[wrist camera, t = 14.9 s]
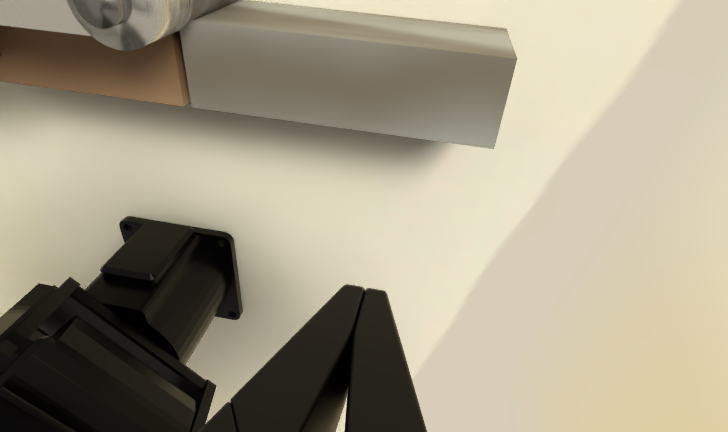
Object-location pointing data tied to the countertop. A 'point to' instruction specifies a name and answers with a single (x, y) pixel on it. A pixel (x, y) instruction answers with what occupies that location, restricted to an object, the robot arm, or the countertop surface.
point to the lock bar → (101, 18)
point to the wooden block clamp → (293, 69)
